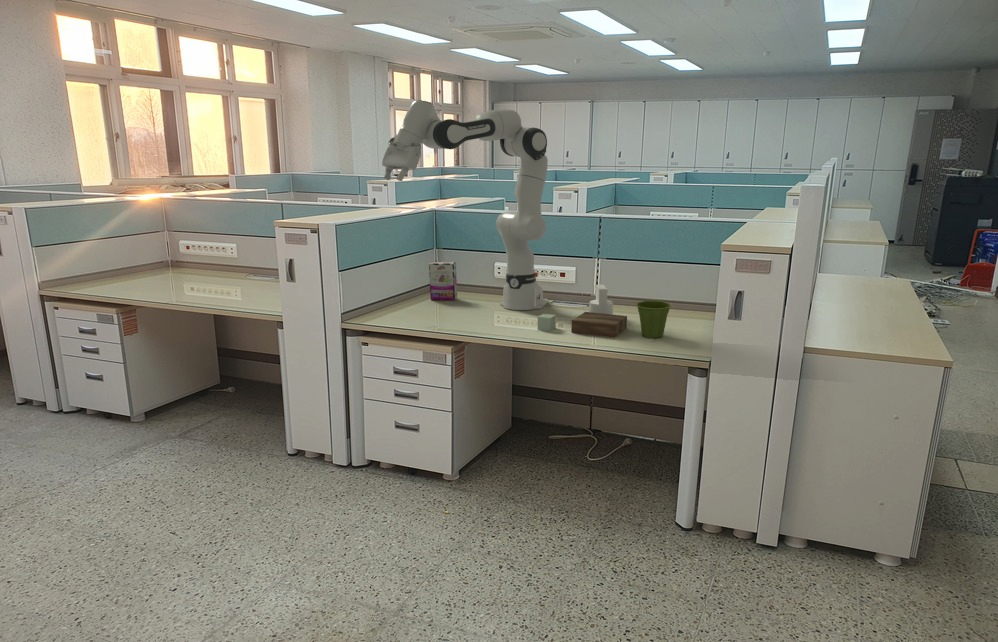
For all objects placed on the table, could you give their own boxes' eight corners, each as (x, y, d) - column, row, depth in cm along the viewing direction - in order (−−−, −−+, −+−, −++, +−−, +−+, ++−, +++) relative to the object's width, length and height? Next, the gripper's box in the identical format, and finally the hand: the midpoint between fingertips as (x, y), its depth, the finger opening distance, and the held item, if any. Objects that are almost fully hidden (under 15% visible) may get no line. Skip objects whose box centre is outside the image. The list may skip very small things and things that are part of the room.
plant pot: (631, 331, 239) (632, 301, 236) (663, 330, 239) (665, 300, 237) (640, 341, 227) (641, 308, 224) (674, 339, 228) (676, 307, 225)
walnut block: (585, 324, 251) (585, 311, 250) (626, 329, 244) (627, 316, 242) (571, 333, 239) (571, 320, 238) (614, 338, 232) (614, 325, 230)
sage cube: (543, 326, 247) (543, 313, 246) (555, 328, 245) (555, 315, 244) (537, 330, 243) (537, 316, 242) (550, 331, 241) (550, 318, 240)
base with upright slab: (587, 314, 264) (588, 284, 261) (610, 314, 264) (611, 284, 261) (590, 320, 256) (591, 289, 253) (614, 319, 256) (615, 289, 253)
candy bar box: (457, 298, 296) (456, 261, 292) (455, 300, 291) (453, 263, 287) (433, 297, 298) (431, 261, 294) (430, 300, 293) (428, 263, 289)
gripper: (429, 148, 229) (414, 185, 229) (401, 148, 245) (387, 182, 245) (414, 139, 225) (399, 176, 225) (387, 139, 241) (372, 174, 241)
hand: (392, 179), depth 235 cm, fingers open, 8 cm apart
